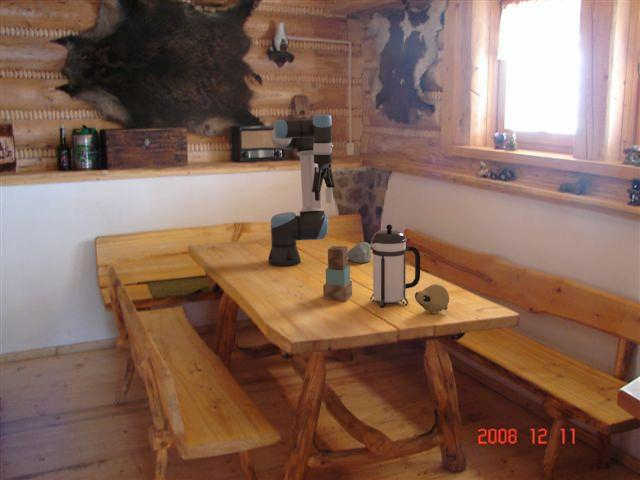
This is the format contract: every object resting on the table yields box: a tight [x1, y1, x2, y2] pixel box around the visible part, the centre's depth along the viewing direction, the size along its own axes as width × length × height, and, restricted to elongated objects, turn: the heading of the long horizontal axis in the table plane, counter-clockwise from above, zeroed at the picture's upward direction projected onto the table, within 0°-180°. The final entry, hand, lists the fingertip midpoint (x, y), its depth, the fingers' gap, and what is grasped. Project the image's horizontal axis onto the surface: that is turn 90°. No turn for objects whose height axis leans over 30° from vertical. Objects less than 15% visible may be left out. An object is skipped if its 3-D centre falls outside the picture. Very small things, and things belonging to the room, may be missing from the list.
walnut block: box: [327, 245, 349, 271], centre depth 264 cm, size 6×6×8 cm
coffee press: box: [369, 223, 421, 309], centre depth 258 cm, size 17×16×30 cm
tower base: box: [322, 280, 353, 303], centre depth 267 cm, size 9×9×6 cm
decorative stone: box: [347, 241, 372, 264], centre depth 324 cm, size 13×11×10 cm
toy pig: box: [414, 283, 450, 316], centre depth 246 cm, size 10×12×11 cm
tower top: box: [325, 265, 351, 286], centre depth 267 cm, size 8×8×6 cm
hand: (323, 205), depth 282 cm, fingers open, 13 cm apart
